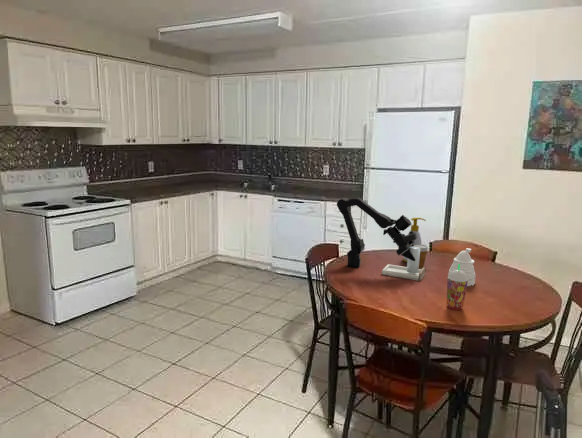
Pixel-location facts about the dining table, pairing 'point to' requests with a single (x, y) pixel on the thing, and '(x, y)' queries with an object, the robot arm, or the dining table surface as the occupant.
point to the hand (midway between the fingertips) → (416, 259)
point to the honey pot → (465, 265)
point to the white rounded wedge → (413, 265)
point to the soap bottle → (415, 229)
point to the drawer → (403, 272)
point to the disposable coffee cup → (422, 254)
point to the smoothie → (456, 289)
